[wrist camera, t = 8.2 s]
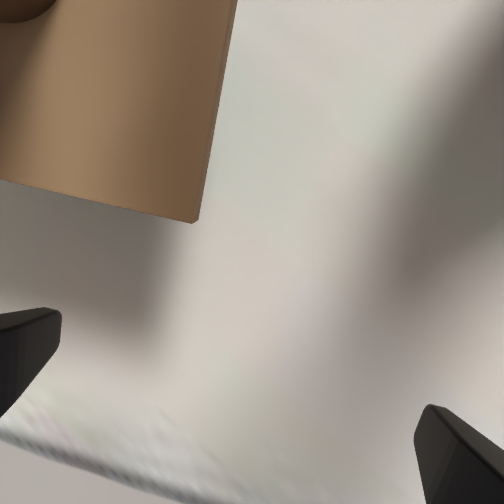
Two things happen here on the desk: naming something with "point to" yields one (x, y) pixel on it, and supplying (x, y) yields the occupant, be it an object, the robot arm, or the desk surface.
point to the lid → (113, 98)
